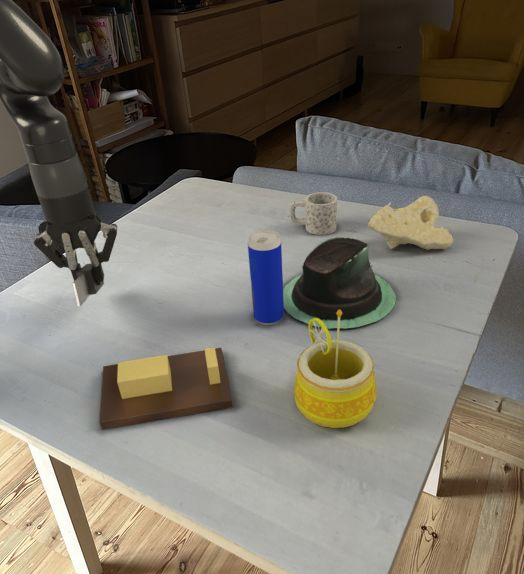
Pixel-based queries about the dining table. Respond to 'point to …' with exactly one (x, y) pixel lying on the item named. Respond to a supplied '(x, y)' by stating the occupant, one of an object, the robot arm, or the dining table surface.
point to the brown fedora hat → (339, 286)
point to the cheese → (412, 225)
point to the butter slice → (212, 365)
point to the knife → (85, 284)
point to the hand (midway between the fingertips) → (91, 283)
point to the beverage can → (266, 276)
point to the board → (167, 393)
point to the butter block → (144, 376)
